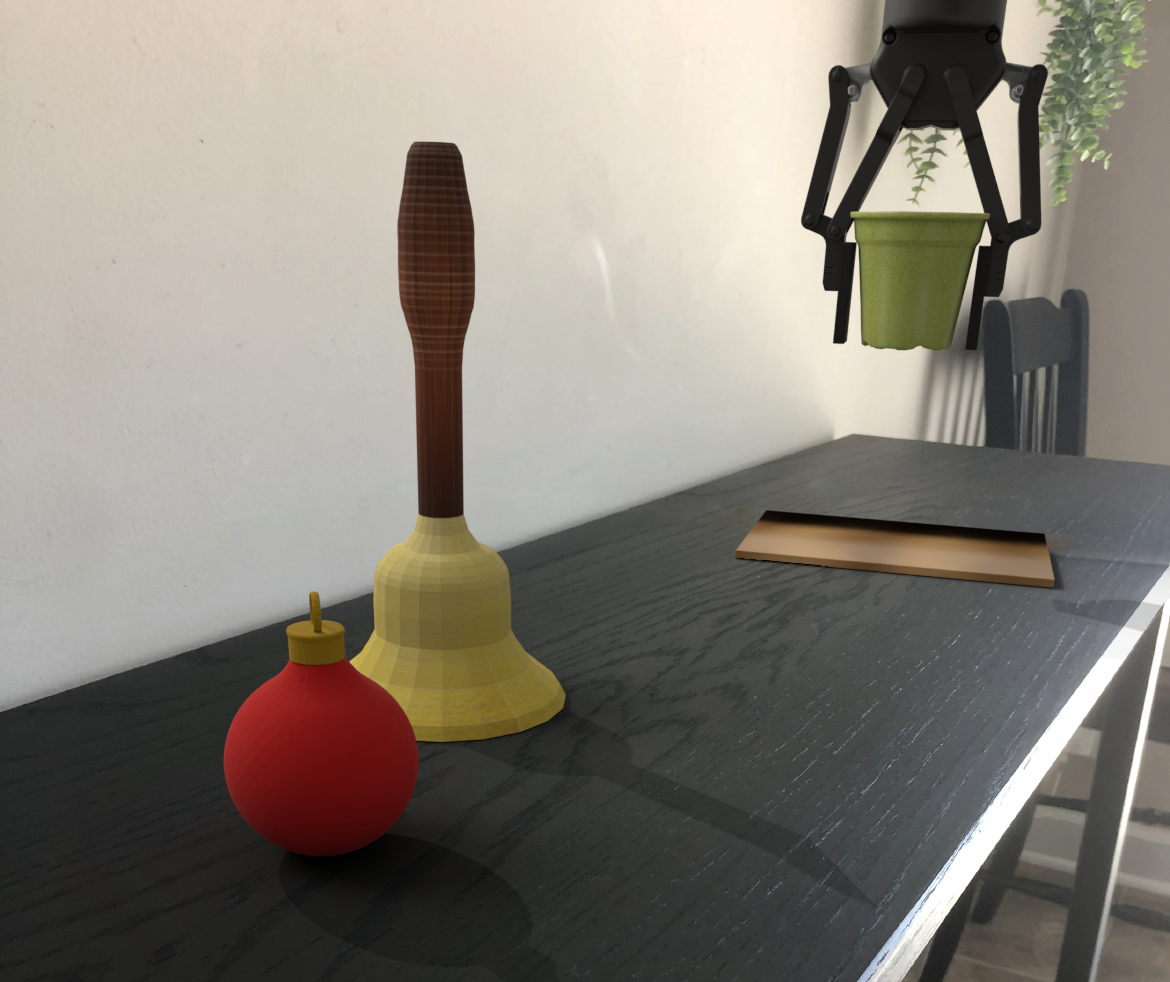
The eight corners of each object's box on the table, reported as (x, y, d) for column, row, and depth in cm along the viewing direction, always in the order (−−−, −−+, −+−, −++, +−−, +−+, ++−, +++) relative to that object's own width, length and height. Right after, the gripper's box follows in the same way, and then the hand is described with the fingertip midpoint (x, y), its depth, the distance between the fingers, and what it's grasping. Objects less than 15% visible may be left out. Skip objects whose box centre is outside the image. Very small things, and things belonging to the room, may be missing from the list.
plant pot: (814, 347, 87) (827, 209, 84) (866, 339, 94) (879, 211, 91) (947, 358, 83) (966, 212, 79) (991, 348, 90) (1010, 214, 86)
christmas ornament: (435, 878, 46) (429, 614, 42) (235, 900, 44) (209, 626, 40) (405, 799, 53) (397, 562, 48) (229, 816, 51) (205, 571, 47)
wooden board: (1041, 532, 102) (1043, 525, 102) (1053, 588, 86) (1054, 579, 86) (770, 509, 108) (771, 502, 107) (734, 558, 92) (735, 549, 92)
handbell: (470, 642, 72) (465, 152, 62) (616, 704, 64) (639, 148, 53) (274, 687, 64) (232, 137, 54) (411, 763, 56) (392, 129, 46)
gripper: (773, -45, 78) (746, 342, 87) (1136, -54, 73) (1067, 357, 82) (788, -24, 85) (762, 334, 94) (1122, -31, 80) (1059, 347, 89)
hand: (904, 344), depth 88 cm, fingers closed on plant pot, 8 cm apart
